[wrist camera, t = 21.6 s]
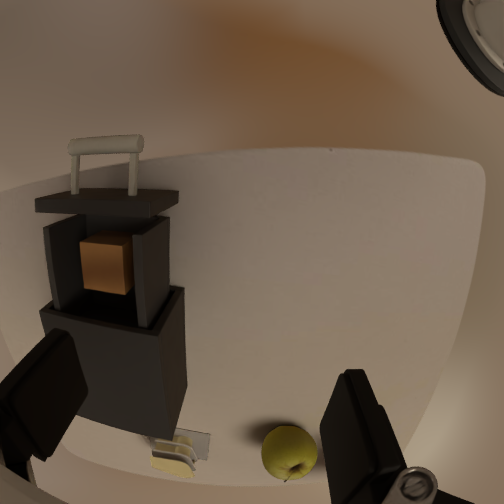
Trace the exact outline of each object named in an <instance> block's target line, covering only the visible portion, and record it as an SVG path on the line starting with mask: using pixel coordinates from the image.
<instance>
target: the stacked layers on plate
mask: <svg viewBox="0 0 504 504" xmlns="http://www.w3.org/2000/svg"><path fill="white" fill-rule="evenodd" d="M150 440H151V446H152V455H153V457H151V456H150V460H151V465H152V467H153V468H156V469H159V470H161V471H164V472H167V473H170V474H173V475H176V476H179V477H184V478H191V477H194V476H195V475H194V473H193V472H192V471H195V470H196V467H195V466H194V463H195V462H196V461H197V460H198V459H201V460H207V457H208V448H209V440H210V434H205V433H199V432H193V431H188V430H183V429H178V428H176V429H175V432H174V436H173V440H172V441H169V440H164V439H159V438H154V437H150Z"/></svg>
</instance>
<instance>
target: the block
mask: <svg viewBox="0 0 504 504" xmlns="http://www.w3.org/2000/svg"><path fill="white" fill-rule="evenodd" d="M133 234H134V233H132V232H119V231H107V230H102V231H100V232H98V233H96V234H94V235H92V236H90V237H88V238H86V239H84V240H82V241H80V253H81V263H82V273H83V281H84V288H86V289H92V290H98V291H104V292H110V293H116V294H123V295H126V294H127V292H128V291H129V290H130V289H131V288H132V287H133V286H134V285H135V279H134V260H133Z"/></svg>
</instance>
